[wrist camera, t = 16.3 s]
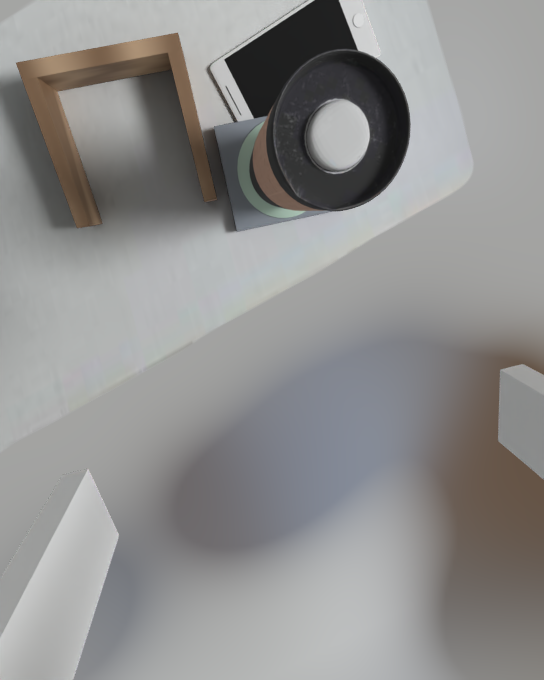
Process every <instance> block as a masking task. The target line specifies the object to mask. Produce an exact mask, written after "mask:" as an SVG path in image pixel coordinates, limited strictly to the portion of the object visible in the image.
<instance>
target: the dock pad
mask: <svg viewBox="0 0 544 680" xmlns="http://www.w3.org/2000/svg"><path fill="white" fill-rule="evenodd" d="M266 118H267V116H265V117H260V118H255V119H249V120H244V121H239V122H234V123H229V124H224V125H219V126H214V131H215V135H216V140H217V144H218V149H219V153H220V158H221V162H222V167H223V171H224V176H225V180H226V185H227V189H228V194H229V198H230V203H231V207H232V212H233V216H234V221H235V225H236V230H237V232H238V231H243V230H247V229H252V228H257V227H261V226H266V225H271V224H275V223H280V222H285V221H290V220H294V219H299V218H304V217H308V216H313V215H318V214H322V213H327V212H332V211H294V210H289V209H284V208H280V207H276V206H273V205H271V204H269V203H267V202H266V201H264V200H263V199H262V198H261V197H260V196H259V195H258V194H257V192H256V191H255V189H254V187H253V185H252V182H251V179H250V172H249V164H250V158H251V155H252V151H253V148H254V144H255V141H256V138H257V136H258V133H259V131H260V129H261V127H262V126H263V124H264V122H265V120H266Z"/></svg>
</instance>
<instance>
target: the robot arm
mask: <svg viewBox="0 0 544 680" xmlns="http://www.w3.org/2000/svg"><path fill="white" fill-rule="evenodd" d="M498 431H499V432H498V441H499V442H500V443H501V444H503V445H504V446H505V447H506V448H507V449H508V450H510V451H511V452H512V453H513V454H514V455H515V456H517V457H518V458H519V459H520V460H521V461H523V462H524V463H525V464H526V465H527V466H529V467H530V468H531V469H532V470H533V471H534V472H536V473H537V474H538V475H539V476H540V477H541V478H543V479H544V375H543V374H540V373H538V372H537V371H535V370H533V369H531V368H529V367H527V366H525V365H523V364H522V365H518V366H514V367H509V368H505V369H501V370H500V397H499V430H498ZM118 537H119V534H118V532H117V530H116V528H115V525H114V523H113V521H112V519H111V517H110V515H109V513H108V511H107V508H106V506H105V504H104V502H103V500H102V497H101V495H100V494H99V491H98V489H97V487H96V484H95V482H94V480H93V478H92V476H91V474H90V472H89V469H84V470H80V471H76V472H72V473H68V474H63V475H62V477H61V478H60V480H59V482H58V483H57V485H56V487H55V488H54V490H53V491H52V493H51V495H50V497H49V498H48V500H47V502H46V503H45V505H44V507H43V508H42V510H41V511H40V513H39V515H38V516H37V518H36V520H35V521H34V523H33V525H32V526H31V528H30V530H29V531H28V533H27V535H26V536H25V538H24V540H23V541H22V543H21V545H20V546H19V548H18V550H17V551H16V553H15V555H14V556H13V558H12V559H11V561H10V563H9V565H8V566H7V568H6V570H5V571H4V573H3V574H2V576H1V578H0V680H73V678H74V675H75V672H76V669H77V666H78V663H79V660H80V656H81V653H82V650H83V647H84V644H85V641H86V638H87V634H88V631H89V628H90V625H91V622H92V619H93V616H94V612H95V609H96V606H97V603H98V600H99V597H100V594H101V591H102V587H103V584H104V581H105V578H106V575H107V572H108V568H109V566H110V562H111V559H112V556H113V553H114V550H115V547H116V543H117V540H118Z"/></svg>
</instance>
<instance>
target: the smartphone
mask: <svg viewBox="0 0 544 680" xmlns="http://www.w3.org/2000/svg"><path fill="white" fill-rule="evenodd" d="M335 49H352V50H358V51H361V52H365V53H367V54H369V55H371V56H373V57H375V58H378V57H379V56H380V54H381V50H380V48H379V45H378V42H377V40H376V37H375V34H374V31H373V29H372V26H371V23H370V20H369V18H368V15H367V12H366V9H365V7H364V4H363V1H362V0H308V1H307V2H305V3H304V4H302V5H301V6H299V7H298V8H296V9H294V10H293V11H291V12H290V13H288V14H287V15H285V16H284V17H282V18H281V19H279V20H278V21H276V22H275V23H273V24H272V25H270V26H269V27H267V28H266V29H264V30H262V31H261V32H259V33H258V34H256V35H255V36H253V37H252V38H250V39H249V40H247V41H246V42H244V43H243V44H241V45H240V46H238V47H237V48H235V49H234V50H232V51H231V52H229V53H227V54H226V55H224V56H223V57H221V58H220V59H218V60H217V61H215V62H214V63H213V64H212V65H211V67H210V70H211V73H212V75H213V76H214V78H215V80H216V82H217V84H218V86H219V88H220V90H221V92H222V93H223V95H224V97H225V99H226V101H227V103H228V105H229V107H230V109H231V111H232V112H233V114H234V116H235V118H236V120H237V122H239V121H244V120H249V119H255V118H260V117H265V116H268V114H269V112H270V111H271V109H272V107H273V105H274V103H275V101H276V99H277V97H278V95H279V94H280V92H281V90H282V88H283V86H284V85H285V83H286V82H287V81H288V79H289V78H290V77H291V75H292V74H293V73H294V72H295V71H296V70H297V69H298V68H299V67H300V66H301V65H303V64H304V63H305V62H306V61H308V60H309V59H311V58H313V57H315V56H316V55H318V54H321V53H324V52H326V51H331V50H335Z"/></svg>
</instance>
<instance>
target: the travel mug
mask: <svg viewBox="0 0 544 680" xmlns="http://www.w3.org/2000/svg"><path fill="white" fill-rule="evenodd" d="M409 138H410V113H409V107H408V103H407V100H406V96H405V93H404V91H403V89H402V87H401V85H400V83H399V81H398V80H397V78H396V77H395V75H394V74H393V73H392V72H391V70H390V69H389V68H388V67H387V66H386V65H385V64H383V63H382V62H381V61H380V60H378V59H377V58H375V57H373V56H371V55H369V54H367V53H365V52H361V51H358V50H352V49H335V50H331V51H326V52H324V53H321V54H318V55H316V56H315V57H313V58H311V59H309V60H308V61H306V62H305V63H304V64H303V65H301V66H300V67H299V68H298V69H297V70H296V71H295V72H294V73H293V74H292V75H291V77H290V78H289V79H288V81H287V82H286V83H285V85H284V86H283V88H282V90H281V92H280V94H279V95H278V97H277V99H276V101H275V103H274V105H273V107H272V109H271V111H270V112H269V114H268V116H267V118H266V120H265V122H264V124H263V126H262V127H261V129H260V131H259V133H258V136H257V138H256V141H255V144H254V148H253V151H252V155H251V158H250V164H249V172H250V179H251V182H252V185H253V187H254V189H255V191H256V192H257V194H258V195H259V196H260V197H261V198H262V199H263V200H264V201H266V202H267V203H269V204H271V205H273V206H276V207H280V208H284V209H289V210H294V211H343V210H348V209H352V208H355V207H358V206H361V205H363V204H365V203H367V202H369V201H371V200H372V199H374V198H375V197H376V196H378V195H379V194H380V193H381V192H382V191H383V190H385V189H386V188H387V186H388V185H389V184H390V183H391V182H392V180H393V179H394V177H395V176H396V174H397V173H398V171H399V169H400V167H401V165H402V163H403V160H404V158H405V155H406V152H407V148H408V144H409Z"/></svg>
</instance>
